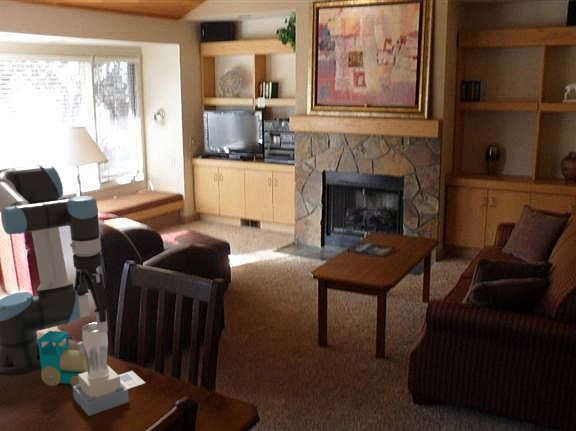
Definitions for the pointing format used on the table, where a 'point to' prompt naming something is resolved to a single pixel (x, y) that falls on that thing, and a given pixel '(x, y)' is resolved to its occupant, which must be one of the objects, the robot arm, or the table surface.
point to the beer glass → (95, 351)
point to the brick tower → (100, 393)
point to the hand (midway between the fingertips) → (93, 323)
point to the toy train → (61, 360)
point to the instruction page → (130, 380)
